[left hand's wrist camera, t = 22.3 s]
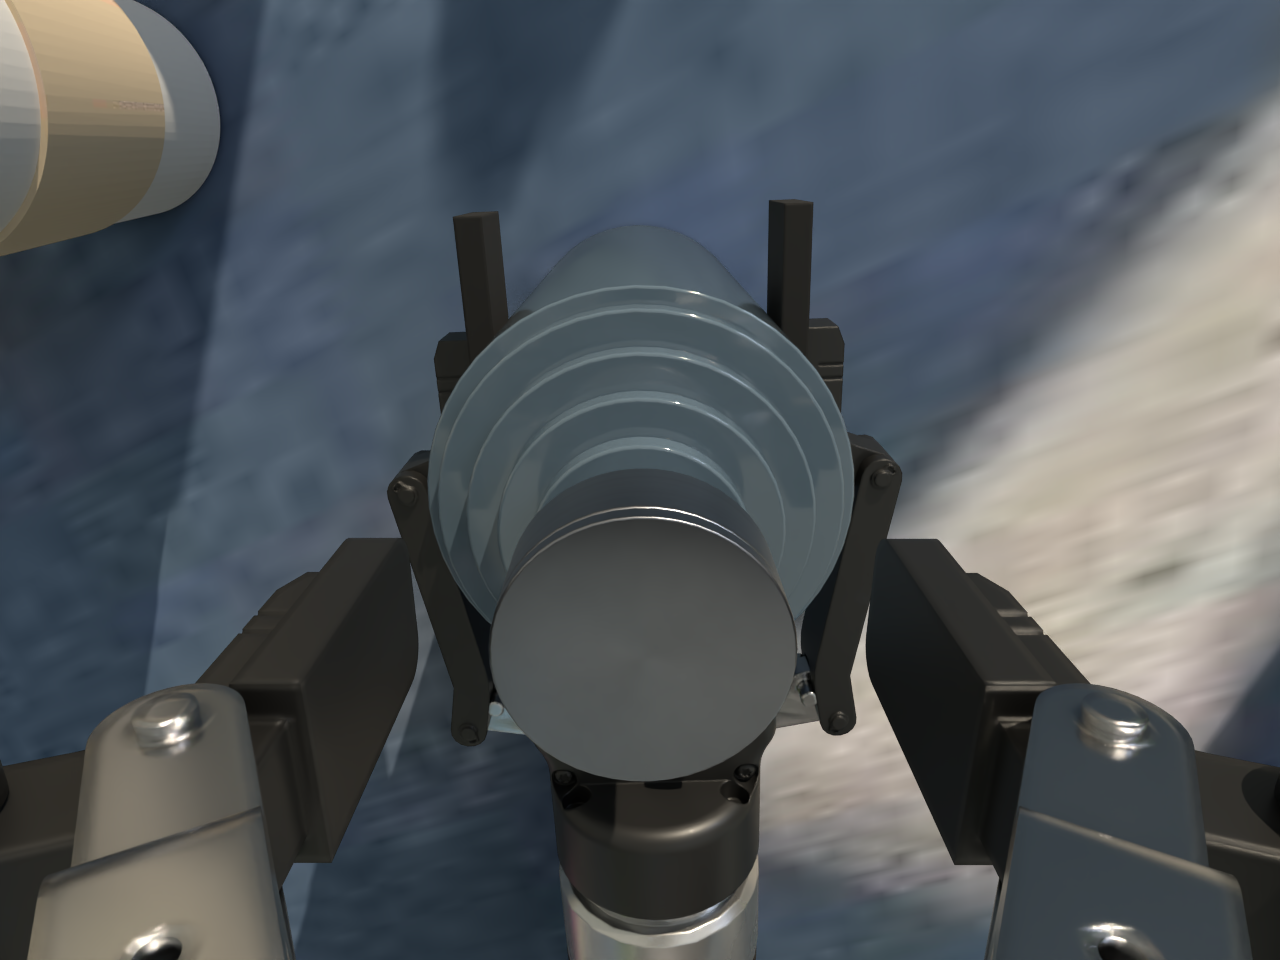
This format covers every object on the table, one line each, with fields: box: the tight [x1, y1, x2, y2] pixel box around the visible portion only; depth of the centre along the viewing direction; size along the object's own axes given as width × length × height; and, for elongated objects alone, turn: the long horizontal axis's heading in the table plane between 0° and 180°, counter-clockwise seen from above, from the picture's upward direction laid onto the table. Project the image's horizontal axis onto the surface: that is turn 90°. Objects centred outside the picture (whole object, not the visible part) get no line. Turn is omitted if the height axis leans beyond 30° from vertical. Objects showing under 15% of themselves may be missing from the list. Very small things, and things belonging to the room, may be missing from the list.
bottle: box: [427, 225, 854, 624], centre depth 21 cm, size 8×8×21 cm
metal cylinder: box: [489, 469, 797, 781], centre depth 11 cm, size 4×4×2 cm
